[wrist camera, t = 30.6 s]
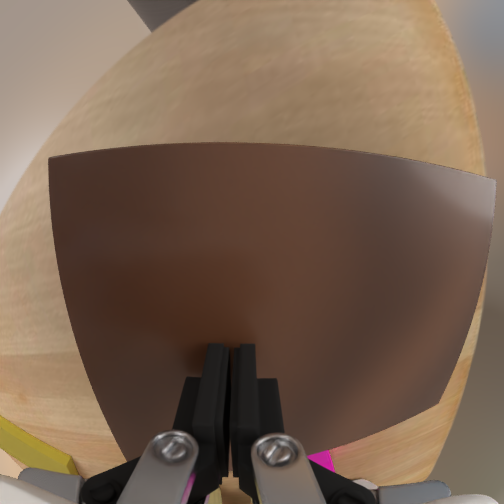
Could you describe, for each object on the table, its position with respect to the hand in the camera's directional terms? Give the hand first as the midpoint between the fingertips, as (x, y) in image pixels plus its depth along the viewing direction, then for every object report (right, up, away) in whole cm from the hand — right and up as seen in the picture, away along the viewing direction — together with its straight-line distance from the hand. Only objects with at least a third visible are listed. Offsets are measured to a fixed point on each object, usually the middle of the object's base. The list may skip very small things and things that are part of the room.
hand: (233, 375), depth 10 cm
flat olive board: (-40, -29, +19) cm, 53 cm away
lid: (+4, +1, +2) cm, 5 cm away
